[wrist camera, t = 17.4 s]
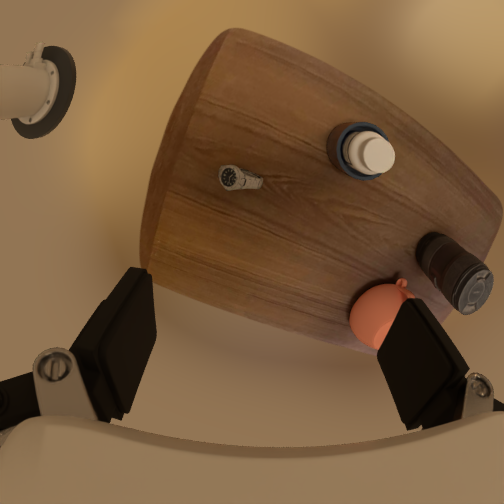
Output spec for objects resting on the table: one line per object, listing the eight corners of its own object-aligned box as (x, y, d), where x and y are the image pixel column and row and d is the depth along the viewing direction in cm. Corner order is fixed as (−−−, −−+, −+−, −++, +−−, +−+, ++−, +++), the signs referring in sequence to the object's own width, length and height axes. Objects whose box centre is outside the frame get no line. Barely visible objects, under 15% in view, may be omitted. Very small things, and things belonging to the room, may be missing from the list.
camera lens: (442, 267, 44) (484, 312, 30) (409, 270, 44) (450, 320, 31) (450, 227, 40) (501, 266, 27) (416, 228, 41) (466, 271, 27)
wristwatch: (223, 158, 37) (218, 162, 33) (265, 170, 38) (266, 176, 34) (217, 181, 39) (211, 188, 34) (258, 193, 40) (258, 202, 35)
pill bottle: (376, 146, 35) (408, 154, 26) (355, 174, 37) (382, 189, 28) (349, 122, 34) (376, 122, 25) (327, 150, 36) (348, 158, 27)
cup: (331, 116, 34) (342, 115, 29) (379, 130, 35) (395, 131, 30) (322, 167, 38) (331, 173, 33) (369, 178, 38) (384, 186, 33)
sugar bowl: (334, 322, 49) (346, 361, 40) (372, 260, 44) (396, 293, 34) (382, 334, 51) (399, 370, 42) (420, 279, 45) (446, 311, 36)
